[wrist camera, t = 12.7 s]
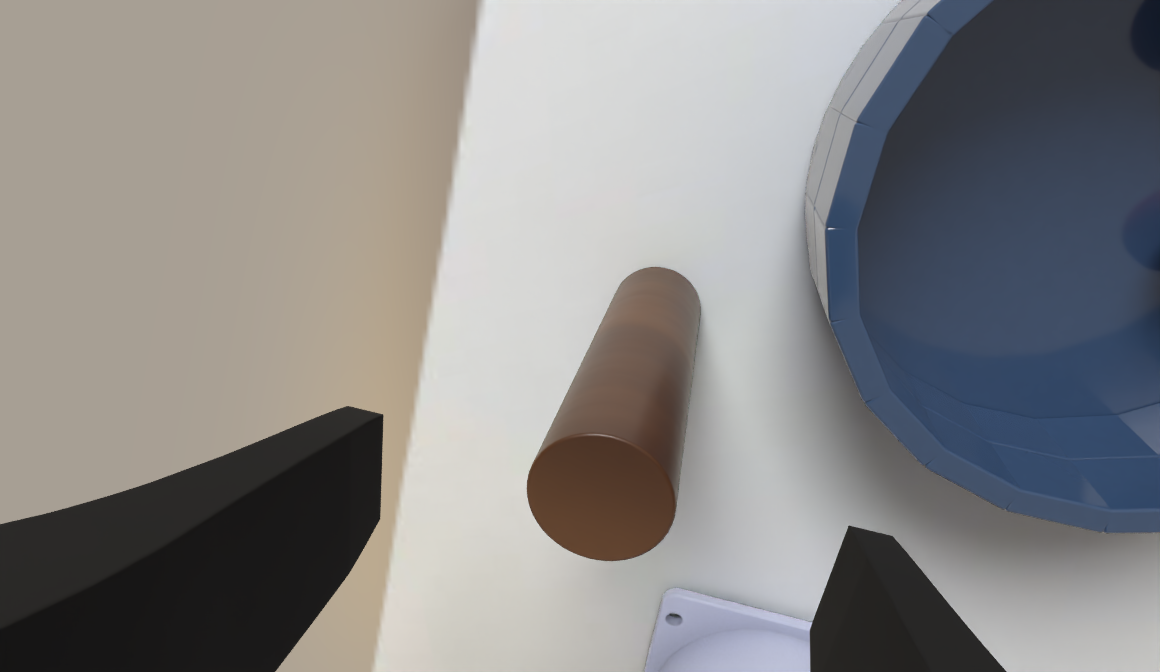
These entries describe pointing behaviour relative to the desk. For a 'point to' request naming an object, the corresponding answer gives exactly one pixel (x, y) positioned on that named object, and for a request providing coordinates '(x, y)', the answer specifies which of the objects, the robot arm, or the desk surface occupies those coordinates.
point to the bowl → (1003, 248)
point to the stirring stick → (622, 425)
